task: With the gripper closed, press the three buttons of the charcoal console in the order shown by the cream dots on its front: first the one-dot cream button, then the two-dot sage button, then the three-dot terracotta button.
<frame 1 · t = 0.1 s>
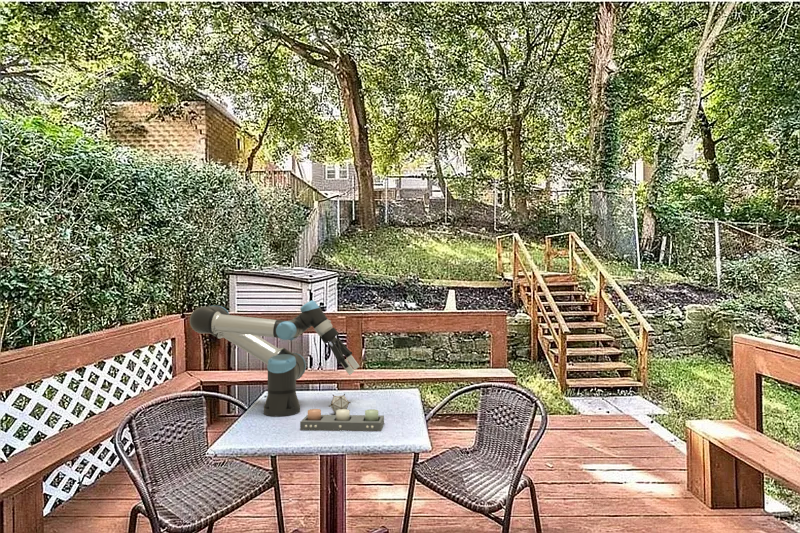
hand: (354, 370, 244), 15 cm above the table, tool tilted 35°, fingers open, 13 cm apart
console: (342, 426, 209), on the table
button two: (371, 416, 208), point 4 cm above the table, slide at 0.0 cm
game die: (339, 414, 229), on the table
button one: (342, 415, 209), point 4 cm above the table, slide at 0.0 cm
button three: (314, 415, 210), point 4 cm above the table, slide at 0.0 cm
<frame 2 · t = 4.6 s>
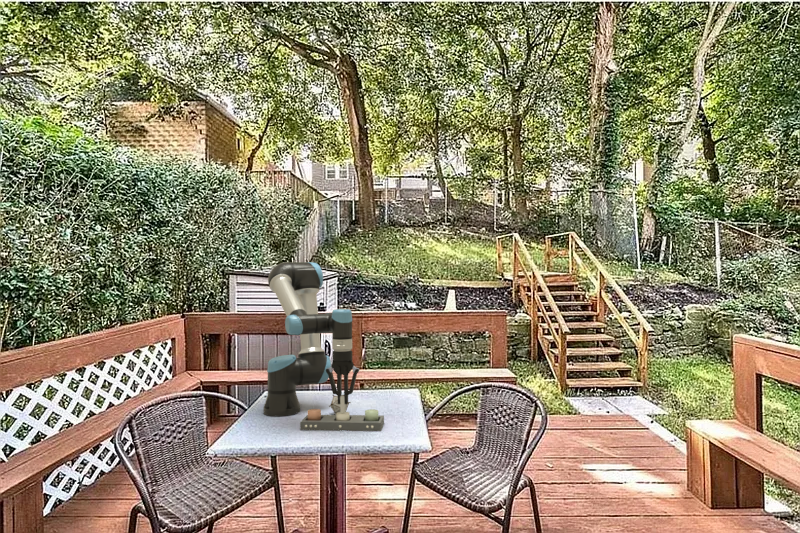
hand: (343, 412, 209), 5 cm above the table, tool pointing down, fingers closed
button one: (342, 418, 209), point 3 cm above the table, slide at 1.0 cm, touching gripper
everything else where it was.
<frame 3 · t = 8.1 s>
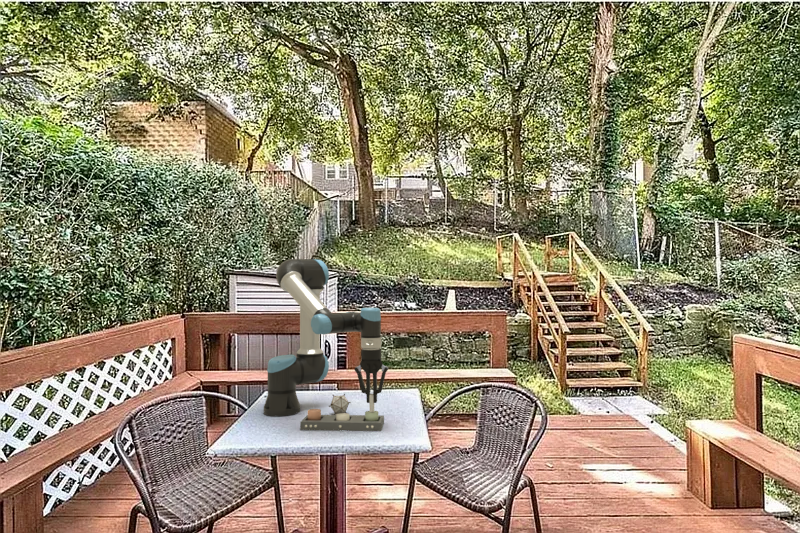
hand: (372, 411, 208), 6 cm above the table, tool pointing down, fingers closed
button two: (371, 417, 208), point 4 cm above the table, slide at 0.5 cm, touching gripper
button one: (342, 419, 209), point 3 cm above the table, slide at 1.5 cm
everything else where it was.
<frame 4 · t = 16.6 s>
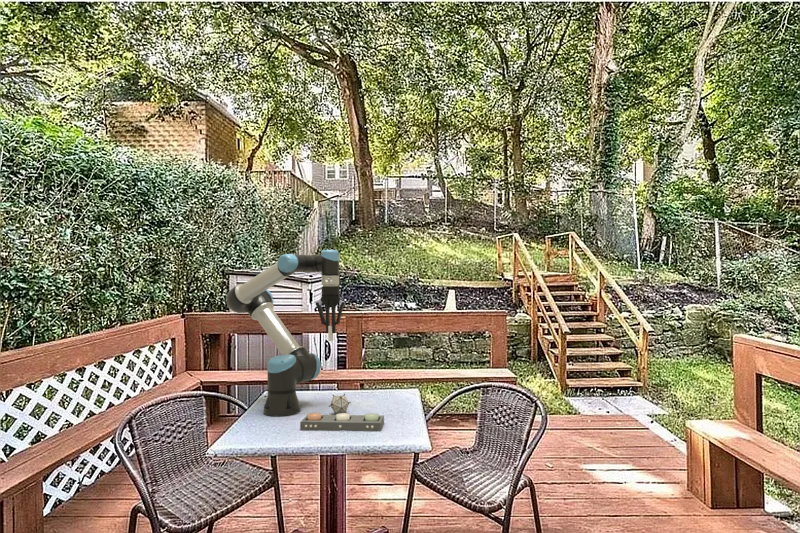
hand: (330, 340, 237), 29 cm above the table, tool pointing down, fingers closed
button two: (371, 420, 208), point 3 cm above the table, slide at 1.5 cm
button three: (314, 419, 210), point 3 cm above the table, slide at 1.5 cm
everything else where it was.
at the end: button one slide at 1.5 cm; button two slide at 1.5 cm; button three slide at 1.5 cm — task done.
